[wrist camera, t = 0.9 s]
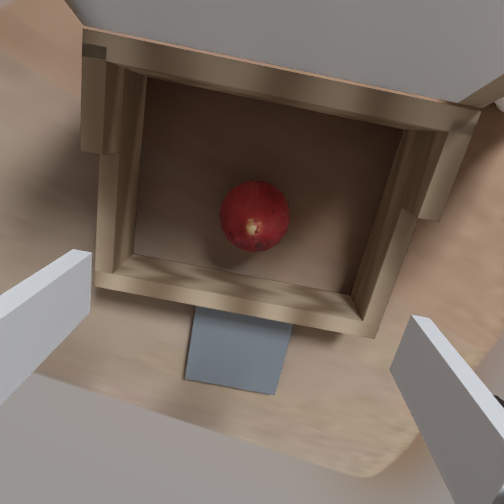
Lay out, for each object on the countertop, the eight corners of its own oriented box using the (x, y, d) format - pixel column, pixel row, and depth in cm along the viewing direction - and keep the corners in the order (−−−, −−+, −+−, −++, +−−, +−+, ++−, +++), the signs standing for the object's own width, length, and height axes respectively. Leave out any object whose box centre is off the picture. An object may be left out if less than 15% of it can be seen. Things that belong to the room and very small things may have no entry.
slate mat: (186, 372, 40) (184, 378, 39) (198, 293, 36) (197, 298, 35) (274, 388, 40) (274, 395, 39) (294, 312, 36) (295, 316, 36)
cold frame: (117, 264, 35) (76, 302, 28) (130, 53, 29) (82, 28, 21) (360, 311, 36) (385, 360, 29) (426, 114, 30) (481, 111, 22)
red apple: (290, 233, 34) (296, 264, 26) (230, 240, 34) (219, 272, 27) (283, 171, 32) (288, 185, 24) (220, 179, 32) (206, 196, 25)
